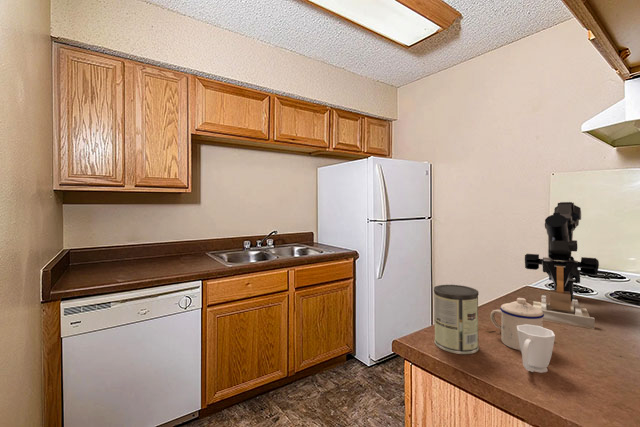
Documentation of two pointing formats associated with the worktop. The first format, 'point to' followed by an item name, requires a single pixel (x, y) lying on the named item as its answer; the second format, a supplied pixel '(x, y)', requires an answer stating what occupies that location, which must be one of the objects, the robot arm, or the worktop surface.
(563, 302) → the tan wooden block
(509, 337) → the teacup with lid
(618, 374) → the worktop surface
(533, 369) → the cup
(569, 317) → the lane tray
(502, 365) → the worktop surface
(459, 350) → the coffee can
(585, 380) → the worktop surface
